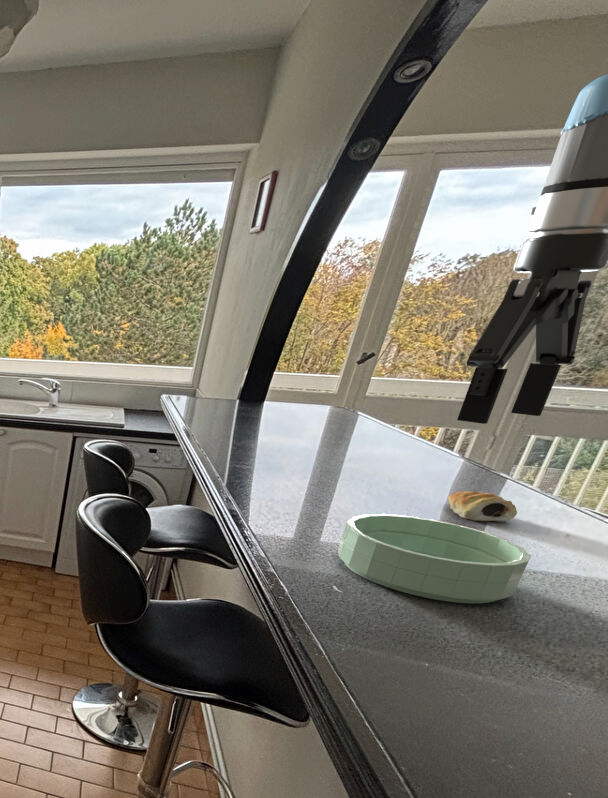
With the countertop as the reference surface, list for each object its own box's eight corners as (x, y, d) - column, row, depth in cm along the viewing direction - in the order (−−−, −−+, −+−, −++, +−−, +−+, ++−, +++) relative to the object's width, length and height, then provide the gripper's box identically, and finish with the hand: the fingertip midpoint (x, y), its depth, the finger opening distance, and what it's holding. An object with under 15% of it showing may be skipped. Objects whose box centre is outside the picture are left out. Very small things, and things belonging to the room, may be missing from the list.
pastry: (432, 502, 99) (440, 480, 97) (481, 506, 97) (490, 484, 96) (465, 520, 90) (475, 497, 89) (519, 525, 89) (530, 501, 87)
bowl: (488, 566, 75) (504, 529, 73) (533, 621, 62) (554, 578, 60) (331, 540, 82) (342, 506, 81) (342, 583, 70) (354, 545, 68)
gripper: (574, 242, 76) (510, 407, 84) (473, 232, 67) (411, 420, 75) (663, 236, 70) (584, 415, 78) (564, 225, 60) (486, 430, 68)
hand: (499, 418), depth 76 cm, fingers open, 13 cm apart
